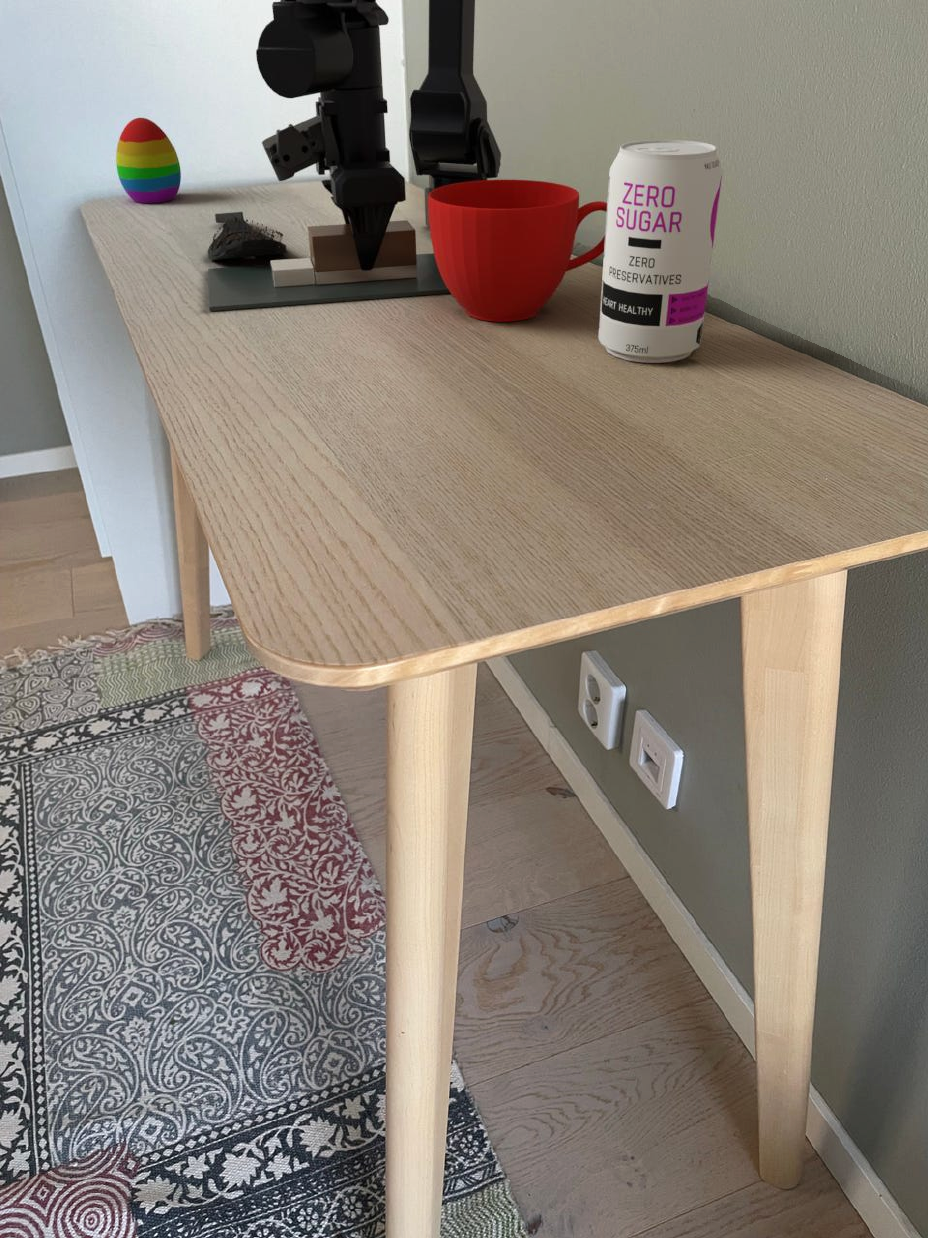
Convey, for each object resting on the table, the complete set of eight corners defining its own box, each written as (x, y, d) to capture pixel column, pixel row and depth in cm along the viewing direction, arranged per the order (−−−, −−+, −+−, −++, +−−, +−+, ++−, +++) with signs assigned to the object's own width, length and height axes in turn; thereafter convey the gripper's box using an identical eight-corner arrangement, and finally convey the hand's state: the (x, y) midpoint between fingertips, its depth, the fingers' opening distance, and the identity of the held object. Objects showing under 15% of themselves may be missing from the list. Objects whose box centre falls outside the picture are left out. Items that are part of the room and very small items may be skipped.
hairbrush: (257, 195, 120) (291, 227, 100) (261, 226, 122) (295, 264, 101) (189, 200, 118) (209, 234, 97) (194, 232, 120) (215, 272, 99)
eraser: (409, 266, 100) (407, 219, 98) (417, 277, 97) (415, 229, 94) (312, 273, 99) (307, 226, 96) (316, 284, 95) (312, 236, 92)
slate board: (435, 256, 105) (435, 252, 105) (463, 292, 94) (463, 287, 94) (208, 272, 101) (208, 268, 101) (209, 311, 90) (209, 306, 89)
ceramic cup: (635, 324, 85) (646, 201, 79) (445, 338, 82) (442, 212, 77) (590, 284, 96) (596, 174, 90) (420, 296, 93) (416, 183, 87)
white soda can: (686, 331, 83) (709, 137, 75) (710, 364, 76) (738, 155, 68) (591, 333, 83) (604, 139, 75) (606, 367, 76) (622, 157, 68)
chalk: (311, 273, 99) (310, 257, 98) (315, 284, 95) (314, 267, 94) (271, 276, 98) (269, 260, 97) (274, 287, 95) (272, 270, 94)
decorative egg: (123, 195, 135) (108, 115, 130) (183, 191, 137) (171, 112, 132) (122, 207, 129) (106, 123, 123) (186, 203, 131) (172, 119, 125)
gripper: (256, 79, 95) (275, 247, 103) (267, 101, 79) (289, 295, 88) (369, 75, 97) (379, 240, 105) (402, 95, 81) (410, 286, 90)
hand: (363, 263), depth 97 cm, fingers closed on eraser, 4 cm apart
